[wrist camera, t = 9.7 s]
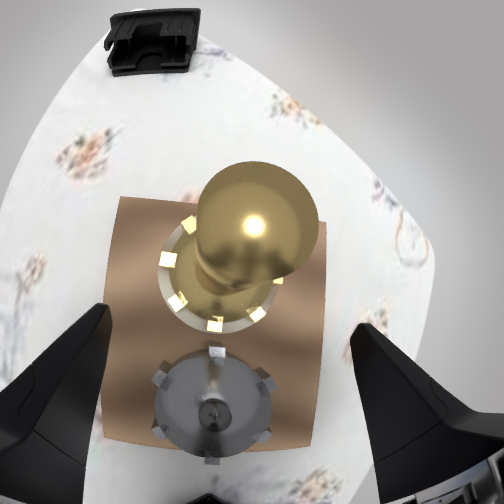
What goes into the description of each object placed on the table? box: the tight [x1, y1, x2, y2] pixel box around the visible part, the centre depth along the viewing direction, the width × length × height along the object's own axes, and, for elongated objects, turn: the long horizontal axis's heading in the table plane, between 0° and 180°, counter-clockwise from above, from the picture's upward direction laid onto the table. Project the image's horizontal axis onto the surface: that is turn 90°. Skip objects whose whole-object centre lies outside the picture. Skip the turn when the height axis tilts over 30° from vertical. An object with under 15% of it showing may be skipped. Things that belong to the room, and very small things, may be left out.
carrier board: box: [101, 196, 326, 452], centre depth 20 cm, size 20×17×2 cm
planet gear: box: [159, 161, 319, 332], centre depth 14 cm, size 8×8×12 cm
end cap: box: [104, 8, 201, 77], centre depth 22 cm, size 10×7×7 cm
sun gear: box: [151, 341, 278, 465], centre depth 16 cm, size 9×8×4 cm
